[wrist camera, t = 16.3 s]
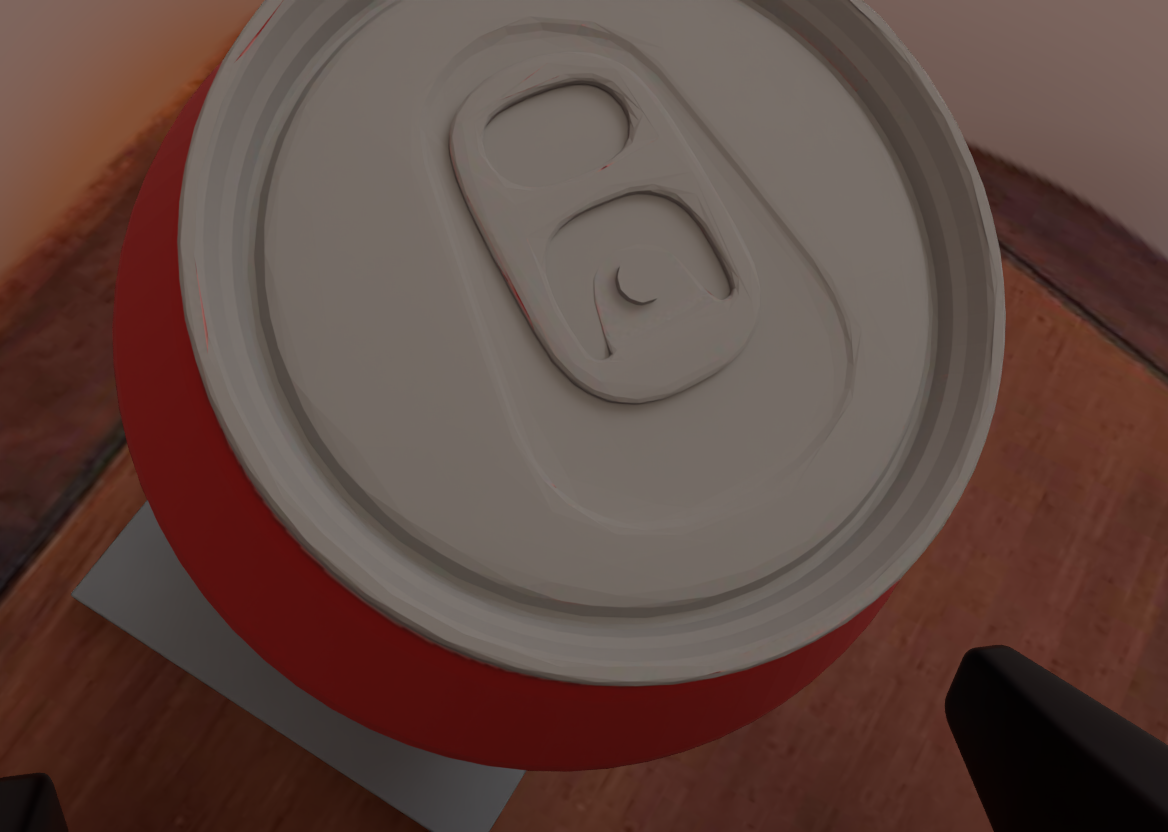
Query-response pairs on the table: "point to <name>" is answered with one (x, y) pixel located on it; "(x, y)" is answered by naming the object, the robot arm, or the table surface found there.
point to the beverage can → (557, 357)
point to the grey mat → (279, 687)
